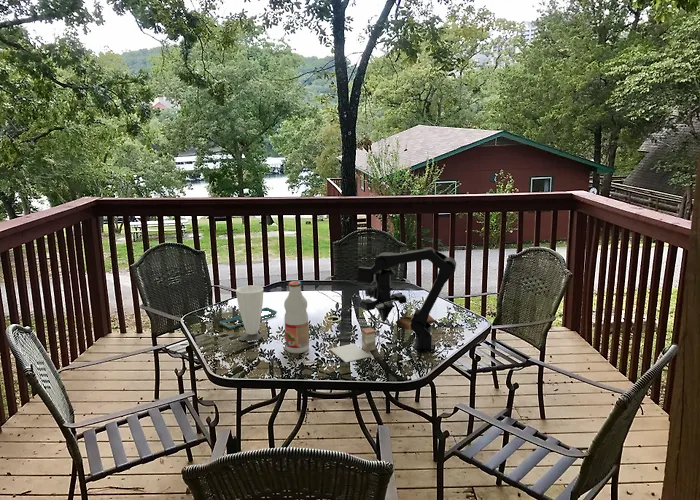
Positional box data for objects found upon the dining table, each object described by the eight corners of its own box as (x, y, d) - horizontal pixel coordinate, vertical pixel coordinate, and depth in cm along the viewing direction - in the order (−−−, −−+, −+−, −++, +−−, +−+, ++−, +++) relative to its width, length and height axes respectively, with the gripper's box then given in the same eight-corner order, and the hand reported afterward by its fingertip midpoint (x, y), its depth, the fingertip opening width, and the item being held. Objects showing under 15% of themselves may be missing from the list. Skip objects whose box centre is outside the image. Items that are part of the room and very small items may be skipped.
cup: (239, 344, 216) (236, 294, 211) (238, 334, 227) (234, 286, 222) (267, 340, 219) (265, 291, 214) (264, 331, 230) (262, 284, 225)
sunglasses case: (409, 330, 227) (404, 316, 229) (400, 334, 233) (395, 320, 234) (438, 320, 238) (432, 307, 239) (428, 324, 243) (423, 311, 245)
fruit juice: (309, 353, 206) (307, 285, 200) (285, 354, 205) (282, 286, 199) (309, 343, 215) (306, 278, 209) (286, 345, 214) (283, 279, 208)
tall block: (375, 349, 209) (375, 330, 207) (366, 351, 207) (366, 332, 205) (370, 345, 212) (370, 327, 210) (361, 347, 210) (361, 329, 209)
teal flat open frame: (229, 331, 231) (229, 326, 231) (219, 326, 238) (218, 320, 237) (277, 316, 249) (277, 311, 248) (267, 311, 255) (266, 307, 255)
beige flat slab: (371, 356, 202) (371, 355, 202) (345, 362, 197) (345, 362, 197) (353, 344, 214) (353, 343, 214) (329, 349, 209) (329, 348, 209)
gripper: (392, 276, 218) (392, 311, 222) (353, 283, 210) (353, 319, 213) (407, 282, 209) (407, 319, 212) (366, 290, 200) (367, 328, 204)
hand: (383, 321), depth 210 cm, fingers closed
